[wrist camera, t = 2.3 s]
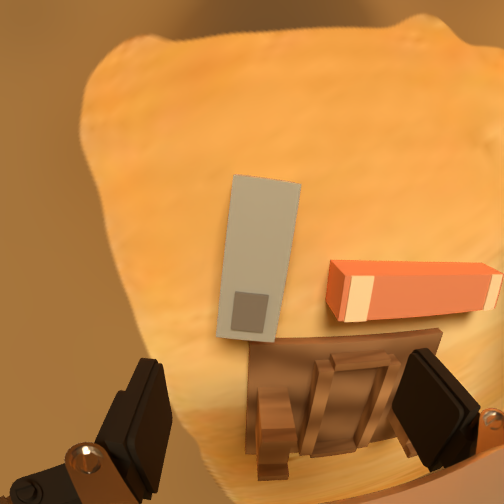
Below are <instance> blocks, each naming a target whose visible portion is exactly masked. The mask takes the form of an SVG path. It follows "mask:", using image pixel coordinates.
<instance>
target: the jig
mask: <svg viewBox="0 0 504 504" xmlns="http://www.w3.org/2000/svg"><path fill="white" fill-rule="evenodd" d="M442 334H443V332H442V331H441V330H440V329H439V328H433V329H425V330H416V331H406V332H396V333H384V334H371V335H356V336H338V337H312V338H275V341H274V342H261V341H250V344H249V369H248V394H247V419H246V444H245V454H257V471H258V481H269V480H287V479H288V477H289V471H288V465H287V462H288V458H289V454H290V453H297V452H299V454H300V456H302V455H310V458H315V457H324V456H332V455H339V454H346V453H352V452H355V451H356V449H357V448H362V447H367V446H368V444H369V443H372V442H377V441H381V440H386V439H390V438H395V437H397V438H398V440H399V442H400V444H401V445H402V447H403V449H404V451H405V453H406V455H407V457H408V458H410V457H414V456H417V455H418V454H417V452H416V451H415V449H414V447H413V445H412V443H411V442H410V440H409V438H408V436H407V435H406V433H405V431H404V429H403V427H402V426H401V424H400V422H399V420H398V419H397V417H396V415H395V414H394V412H393V410H392V402H393V399H394V397H395V394H396V391H397V389H398V386H399V383H400V380H401V378H402V375H403V372H404V369H405V366H406V363H407V360H408V357H409V355H410V354H411V353H412V351H413V350H415V349H420V348H428V349H429V350H430V351H431V352H432V353H433V354H434V355H436V352H437V349H438V346H439V343H440V340H441V337H442Z"/></svg>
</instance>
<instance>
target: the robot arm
mask: <svg viewBox="0 0 504 504" xmlns="http://www.w3.org/2000/svg"><path fill="white" fill-rule="evenodd" d="M480 407H481V406H480V405H479V404H478V403H477V402H476V401H475V399H474V398H473V397H472V396H471V395H470V394H469V393H468V391H467V390H466V389H465V388H464V387H463V386H462V385H461V384H460V382H459V381H458V380H457V379H456V378H455V377H454V376H453V375H452V374H451V372H450V371H449V370H448V369H447V368H446V367H445V366H444V365H443V364H442V363H441V362H440V360H439V359H438V358H437V357H436V356H435V355H434V354H433V353H432V352H431V351H430V350H429V349H428V348H420V349H415V350H413V351H412V353H411V354H410V355H409V357H408V360H407V363H406V366H405V369H404V372H403V375H402V378H401V380H400V383H399V386H398V389H397V391H396V394H395V397H394V399H393V402H392V410H393V412H394V414H395V415H396V417H397V419H398V420H399V422H400V424H401V426H402V427H403V429H404V431H405V433H406V435H407V436H408V438H409V440H410V442H411V443H412V445H413V447H414V449H415V451H416V452H417V454H418V456H419V458H420V460H421V462H422V463H423V465H424V466H425V467H428V469H429V471H430V472H432V471H435V470H437V469H440V468H441V467H442V466H443V467H444V468H445V469H443V470H440V471H438V472H435V473H432V474H430V475H427V476H425V477H422V478H419V479H416V480H413V481H410V482H407V483H404V484H401V485H398V486H395V487H391V488H388V489H384V490H381V491H377V492H373V493H369V494H365V495H361V496H357V497H352V498H348V499H343V500H337V501H332V502H326V503H320V504H504V412H502V411H500V410H498V409H495V408H488V409H485V410H483V411H482V412H481V414H480V413H479V412H478V411H479V409H480ZM171 425H172V412H171V407H170V402H169V397H168V391H167V386H166V381H165V375H164V369H163V365H162V364H160V363H158V361H157V360H156V359H148V358H141V359H140V361H139V363H138V365H137V367H136V369H135V371H134V374H133V376H132V378H131V380H130V382H129V384H128V387H127V389H126V391H122V390H120V391H118V393H117V394H116V396H115V398H114V400H113V403H112V405H111V407H110V409H109V411H108V413H107V415H106V418H105V420H104V422H103V425H102V426H101V429H100V431H99V433H98V435H97V438H96V440H95V442H94V443H92V442H83V443H78V444H76V445H73V446H72V447H71V448H70V449H68V451H67V453H66V455H65V459H64V461H65V463H64V464H61V465H59V466H56V467H53V468H50V469H47V470H44V471H41V472H38V473H35V474H31V475H28V476H25V477H22V478H20V479H17V480H16V481H15V482H14V483H13V484H12V486H11V488H10V496H8V497H7V498H6V497H5V496H2V497H0V504H141V503H142V500H143V499H147V500H151V497H152V493H157V492H158V487H159V482H160V477H161V472H162V468H163V463H164V458H165V453H166V448H167V444H168V439H169V435H170V430H171Z"/></svg>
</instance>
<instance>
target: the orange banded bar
mask: <svg viewBox="0 0 504 504" xmlns="http://www.w3.org/2000/svg"><path fill="white" fill-rule="evenodd" d="M503 277H504V274H503V273H501V272H499V271H497V270H495V269H493V268H491V267H489V266H487V265H485V264H483V263H462V262H406V261H358V260H330V269H329V277H328V285H327V292H326V300H325V301H326V302H327V304H328V305H329V307H330V309H331V310H332V312H333V314H334V315H335V317H336V319H337V320H338V321H344V322H361V321H366V320H378V319H394V318H408V317H420V316H431V315H442V314H451V313H460V312H469V311H477V310H483V311H484V310H491V309H494V308H495V306H496V303H497V300H498V296H499V292H500V289H501V285H502V281H503Z"/></svg>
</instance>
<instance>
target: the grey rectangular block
mask: <svg viewBox="0 0 504 504" xmlns="http://www.w3.org/2000/svg"><path fill="white" fill-rule="evenodd" d="M300 190H301V184H298V183H294V182H290V181H284V180H277V179H270V178H262V177H255V176H247V175H239V174H235V175H234V176H233V184H232V192H231V200H230V208H229V216H228V225H227V234H226V243H225V252H224V261H223V270H222V280H221V289H220V299H219V310H218V320H217V331H216V337H221V338H230V339H239V340H250V341H261V342H274V341H275V335H276V330H277V325H278V320H279V315H280V309H281V304H282V299H283V293H284V288H285V282H286V276H287V271H288V265H289V259H290V253H291V247H292V241H293V235H294V229H295V223H296V216H297V210H298V203H299V197H300Z"/></svg>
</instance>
